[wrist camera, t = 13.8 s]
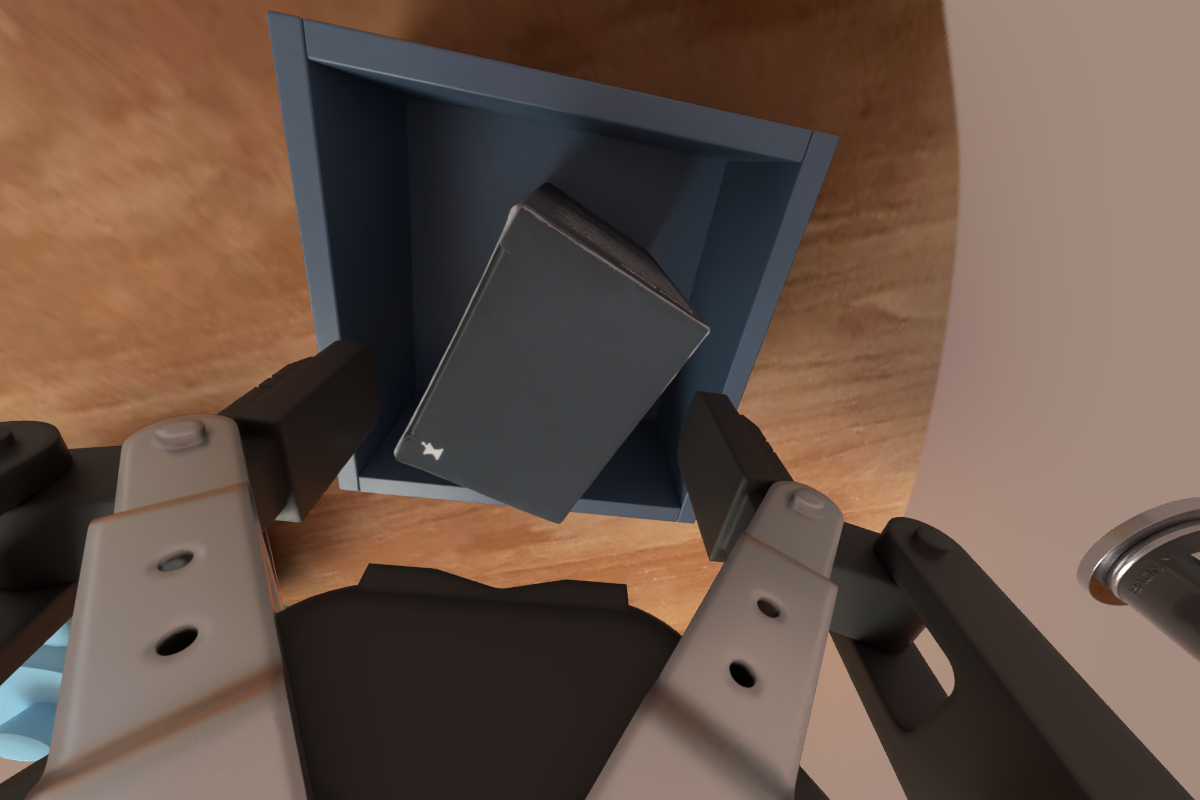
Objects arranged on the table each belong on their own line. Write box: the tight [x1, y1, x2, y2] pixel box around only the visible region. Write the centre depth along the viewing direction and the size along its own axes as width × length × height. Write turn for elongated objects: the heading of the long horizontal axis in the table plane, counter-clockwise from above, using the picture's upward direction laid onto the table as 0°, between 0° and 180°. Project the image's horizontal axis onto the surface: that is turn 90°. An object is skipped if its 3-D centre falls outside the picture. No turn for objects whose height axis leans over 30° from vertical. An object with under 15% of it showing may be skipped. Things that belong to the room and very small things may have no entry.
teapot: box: [0, 605, 289, 761], centre depth 24 cm, size 13×14×11 cm
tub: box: [267, 11, 840, 523], centre depth 18 cm, size 15×15×8 cm
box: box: [394, 183, 710, 524], centre depth 16 cm, size 8×6×11 cm
